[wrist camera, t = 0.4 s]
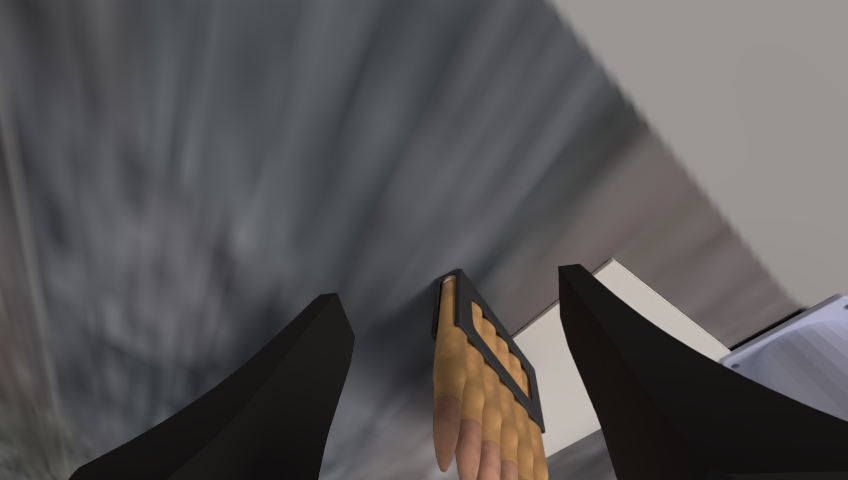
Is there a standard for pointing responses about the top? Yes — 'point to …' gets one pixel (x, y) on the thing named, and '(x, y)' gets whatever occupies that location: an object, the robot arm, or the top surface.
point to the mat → (556, 368)
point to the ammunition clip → (482, 391)
